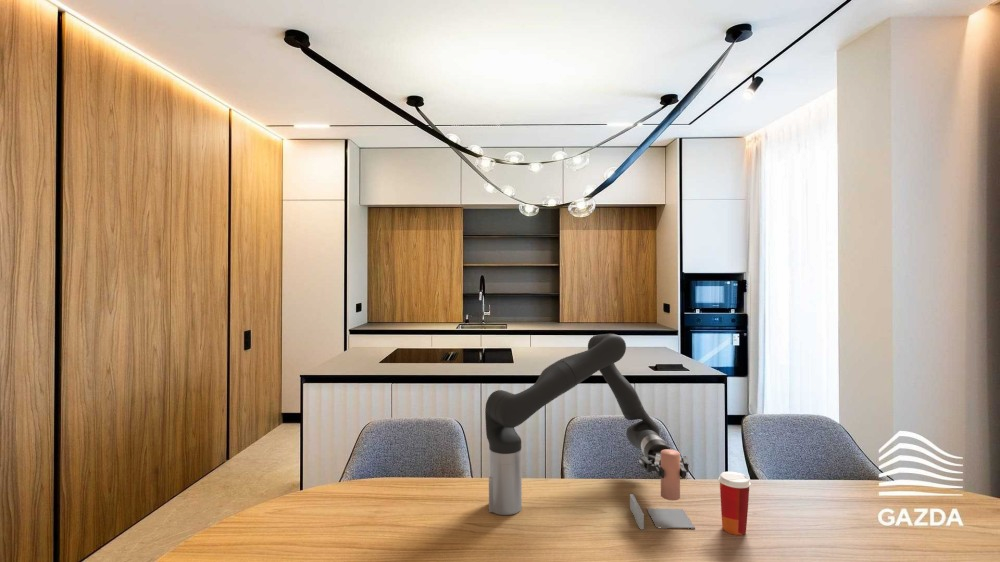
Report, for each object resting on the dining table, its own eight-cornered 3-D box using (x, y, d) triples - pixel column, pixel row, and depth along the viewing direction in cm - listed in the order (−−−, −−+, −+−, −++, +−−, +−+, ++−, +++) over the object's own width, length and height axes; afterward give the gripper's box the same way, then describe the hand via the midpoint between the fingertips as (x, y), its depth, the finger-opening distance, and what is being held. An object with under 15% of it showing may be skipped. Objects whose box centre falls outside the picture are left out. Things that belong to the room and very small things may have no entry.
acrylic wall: (640, 530, 131) (640, 514, 130) (629, 508, 143) (629, 494, 142) (643, 530, 130) (643, 515, 130) (633, 508, 142) (633, 494, 142)
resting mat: (656, 528, 131) (656, 526, 131) (646, 509, 141) (646, 508, 141) (695, 528, 131) (695, 527, 131) (682, 510, 141) (682, 509, 141)
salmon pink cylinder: (663, 500, 134) (663, 456, 133) (658, 491, 139) (658, 449, 138) (682, 500, 134) (682, 456, 133) (676, 491, 139) (676, 449, 138)
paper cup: (743, 522, 134) (744, 471, 134) (755, 538, 126) (755, 483, 126) (713, 521, 135) (713, 470, 134) (723, 536, 127) (723, 482, 127)
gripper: (632, 438, 150) (646, 460, 133) (680, 438, 150) (700, 461, 133) (632, 463, 151) (646, 488, 134) (680, 463, 150) (700, 488, 133)
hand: (673, 474), depth 133 cm, fingers closed on salmon pink cylinder, 5 cm apart
